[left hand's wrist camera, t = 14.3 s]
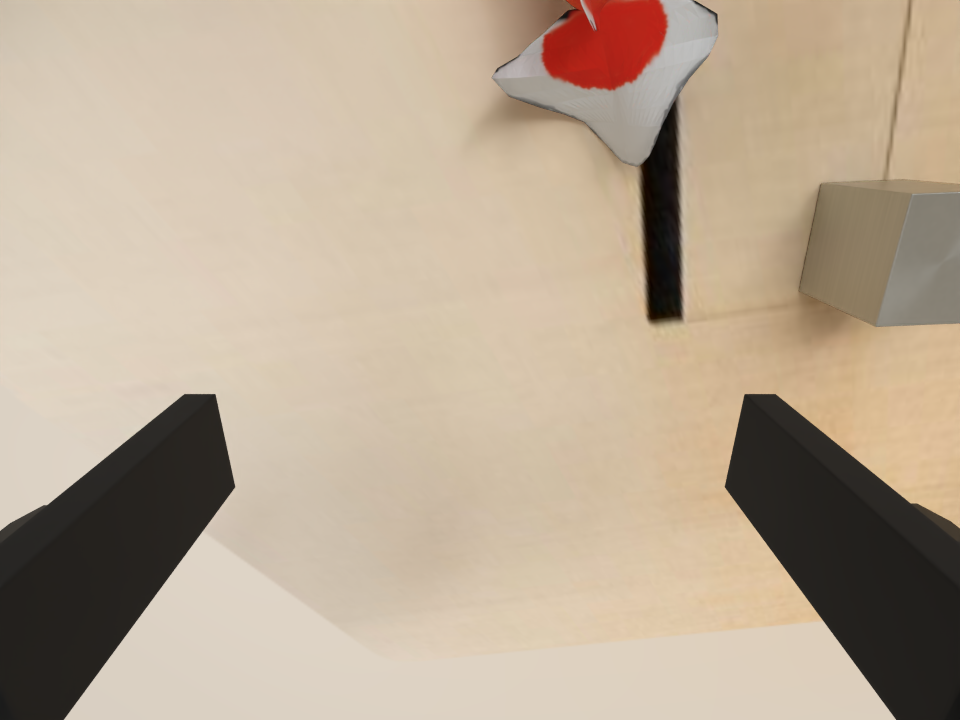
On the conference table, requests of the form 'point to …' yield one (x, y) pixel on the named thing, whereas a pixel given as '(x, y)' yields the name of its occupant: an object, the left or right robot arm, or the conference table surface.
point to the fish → (614, 67)
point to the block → (887, 251)
